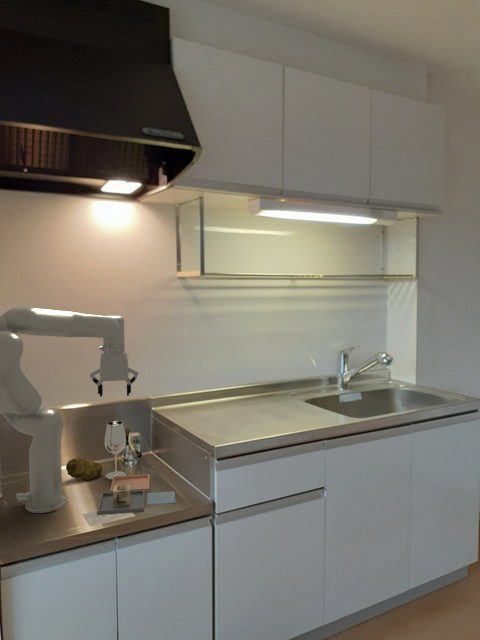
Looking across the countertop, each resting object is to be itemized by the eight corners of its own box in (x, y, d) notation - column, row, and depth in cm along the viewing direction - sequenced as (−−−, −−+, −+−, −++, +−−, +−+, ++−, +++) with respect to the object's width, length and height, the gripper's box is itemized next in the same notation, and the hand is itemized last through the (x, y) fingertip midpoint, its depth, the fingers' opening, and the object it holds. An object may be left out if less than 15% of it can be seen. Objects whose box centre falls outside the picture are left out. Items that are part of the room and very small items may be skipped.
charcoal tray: (97, 515, 153) (97, 511, 153) (102, 497, 167) (102, 492, 167) (143, 512, 155) (143, 508, 155) (144, 494, 169) (144, 490, 169)
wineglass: (120, 470, 191) (119, 419, 190) (130, 476, 185) (129, 423, 184) (101, 475, 186) (100, 422, 184) (111, 481, 180) (110, 427, 179)
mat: (147, 506, 160) (147, 504, 160) (147, 494, 169) (147, 493, 169) (175, 504, 161) (175, 502, 161) (174, 493, 170) (174, 491, 170)
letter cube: (113, 507, 158) (113, 491, 158) (114, 500, 163) (114, 485, 163) (129, 506, 159) (129, 490, 159) (130, 499, 164) (130, 484, 164)
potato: (104, 480, 181) (103, 458, 181) (66, 485, 177) (66, 463, 176) (101, 472, 189) (101, 451, 188) (65, 477, 184) (65, 455, 184)
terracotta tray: (110, 495, 168) (110, 491, 168) (113, 480, 181) (113, 476, 181) (149, 492, 170) (149, 488, 170) (149, 478, 183) (149, 474, 183)
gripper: (88, 351, 177) (89, 398, 178) (137, 350, 180) (138, 396, 181) (90, 348, 185) (91, 394, 186) (138, 347, 188) (139, 392, 189)
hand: (114, 395), depth 184 cm, fingers open, 9 cm apart
